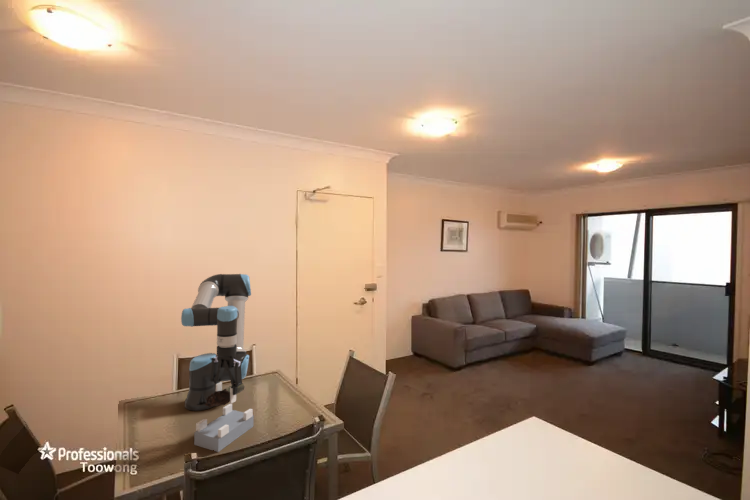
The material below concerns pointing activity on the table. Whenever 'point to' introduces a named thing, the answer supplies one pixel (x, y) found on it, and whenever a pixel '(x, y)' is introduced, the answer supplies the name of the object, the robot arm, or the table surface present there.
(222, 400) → the brown lumpy club
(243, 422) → the grey block with tabs
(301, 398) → the table surface
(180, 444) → the table surface
